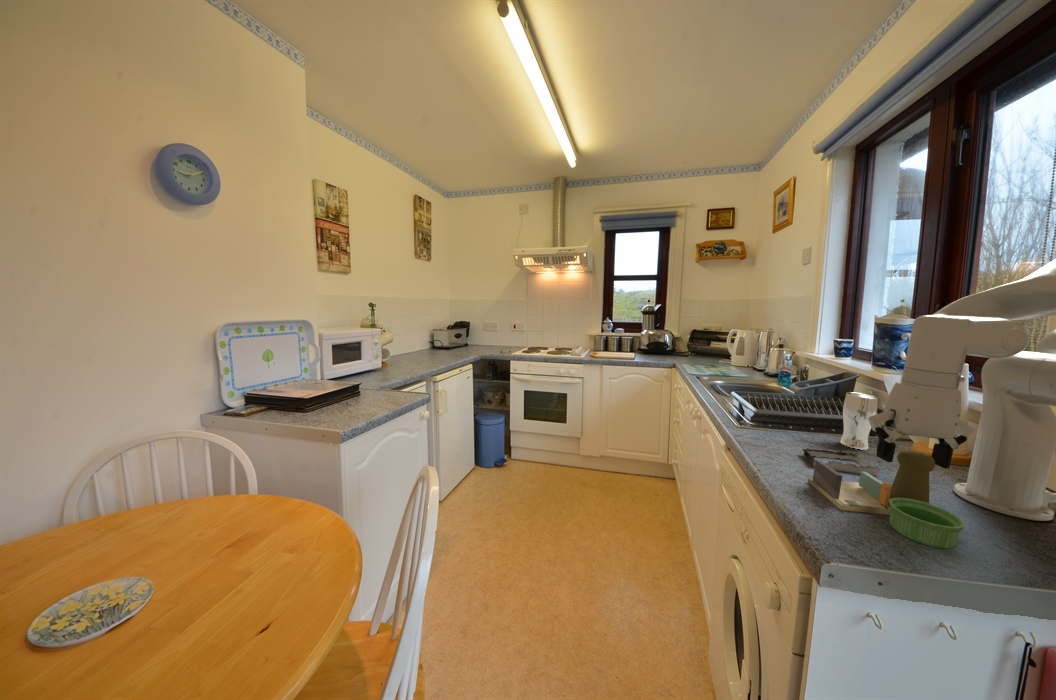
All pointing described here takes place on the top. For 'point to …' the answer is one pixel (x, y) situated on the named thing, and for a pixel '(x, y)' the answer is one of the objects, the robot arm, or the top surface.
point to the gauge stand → (844, 491)
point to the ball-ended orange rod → (885, 494)
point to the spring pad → (870, 484)
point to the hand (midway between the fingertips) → (911, 462)
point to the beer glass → (857, 419)
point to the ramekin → (925, 522)
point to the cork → (912, 476)
